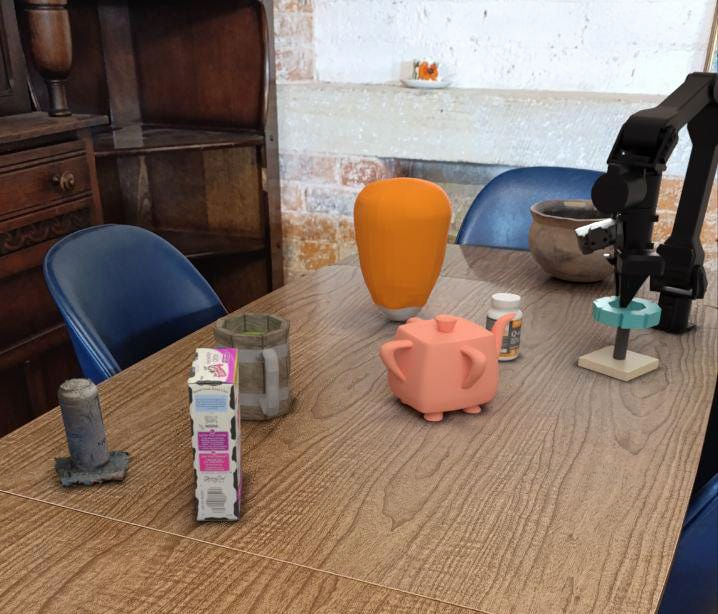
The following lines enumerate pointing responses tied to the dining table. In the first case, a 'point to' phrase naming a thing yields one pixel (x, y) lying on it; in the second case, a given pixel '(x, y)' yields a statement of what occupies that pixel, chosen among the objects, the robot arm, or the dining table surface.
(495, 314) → the pill bottle
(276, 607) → the dining table surface
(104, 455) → the grey upright cylinder
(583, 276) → the ceramic bowl
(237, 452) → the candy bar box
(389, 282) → the orange egg-shaped ornament
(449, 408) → the teapot
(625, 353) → the peg stand
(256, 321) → the mug
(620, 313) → the ring
